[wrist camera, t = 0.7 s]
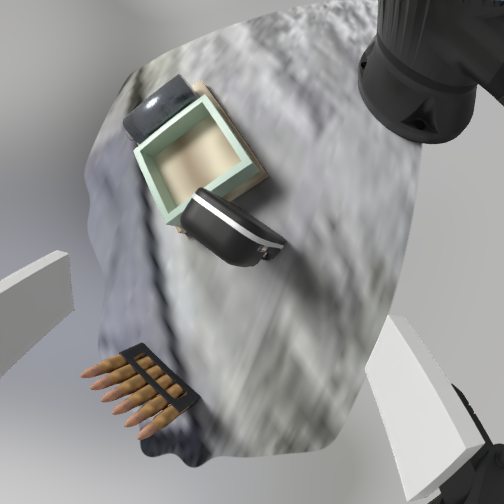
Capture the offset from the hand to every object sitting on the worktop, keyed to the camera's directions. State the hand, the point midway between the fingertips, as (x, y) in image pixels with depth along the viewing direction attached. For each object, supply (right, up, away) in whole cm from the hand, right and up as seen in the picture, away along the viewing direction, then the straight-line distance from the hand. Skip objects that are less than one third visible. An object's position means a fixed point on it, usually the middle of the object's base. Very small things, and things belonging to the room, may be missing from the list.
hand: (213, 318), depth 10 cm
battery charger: (+2, +4, +21) cm, 22 cm away
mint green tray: (-6, +15, +24) cm, 29 cm away
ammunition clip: (-10, -14, +24) cm, 29 cm away
